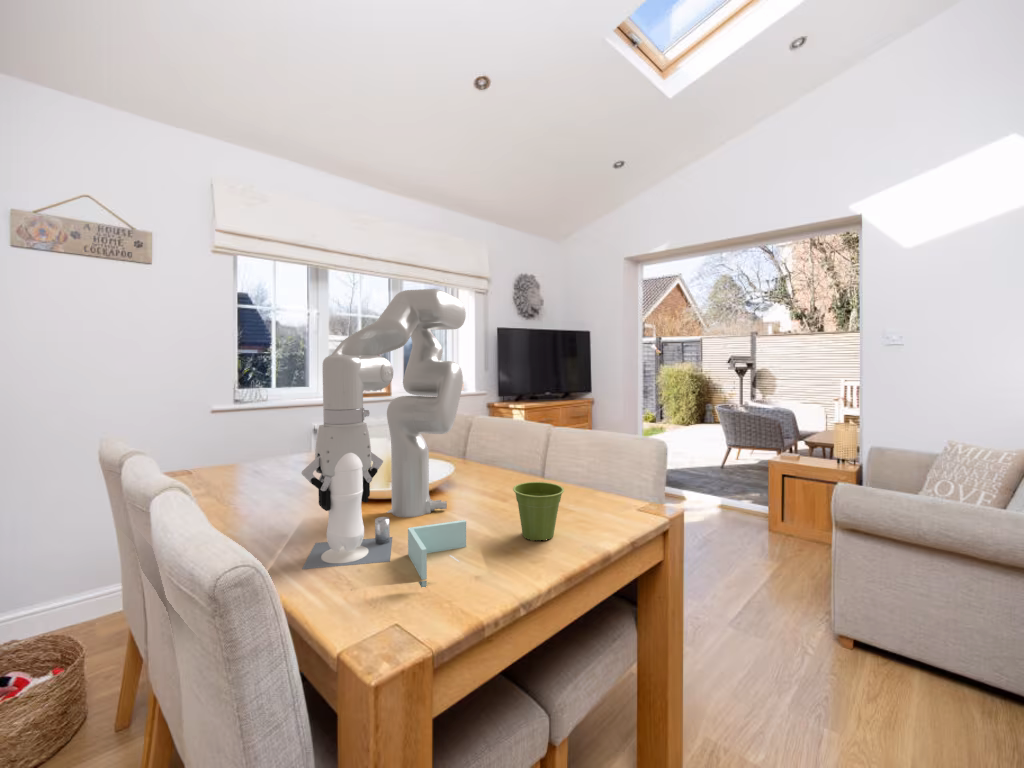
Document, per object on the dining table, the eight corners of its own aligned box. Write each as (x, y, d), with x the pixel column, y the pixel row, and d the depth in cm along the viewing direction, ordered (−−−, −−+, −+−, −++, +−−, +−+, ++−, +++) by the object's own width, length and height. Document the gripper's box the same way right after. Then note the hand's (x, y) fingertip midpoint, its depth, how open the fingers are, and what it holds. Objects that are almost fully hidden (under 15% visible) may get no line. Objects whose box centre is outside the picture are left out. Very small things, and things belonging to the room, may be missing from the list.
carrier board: (392, 543, 103) (392, 536, 103) (390, 568, 90) (390, 560, 90) (315, 549, 99) (315, 542, 99) (302, 576, 86) (301, 568, 86)
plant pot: (505, 541, 104) (505, 492, 104) (523, 524, 115) (523, 479, 115) (555, 549, 100) (556, 498, 99) (569, 531, 111) (569, 484, 110)
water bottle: (372, 545, 95) (370, 424, 93) (342, 557, 89) (340, 428, 87) (349, 537, 98) (347, 421, 97) (319, 549, 92) (316, 425, 91)
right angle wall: (421, 591, 82) (421, 549, 82) (408, 564, 93) (407, 527, 93) (484, 578, 87) (484, 539, 87) (464, 554, 98) (464, 519, 98)
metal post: (389, 538, 101) (389, 516, 101) (389, 543, 99) (389, 520, 98) (375, 539, 101) (375, 517, 101) (374, 545, 98) (374, 521, 98)
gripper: (375, 412, 101) (376, 492, 102) (291, 419, 89) (293, 509, 90) (392, 415, 95) (393, 500, 96) (304, 423, 84) (306, 519, 84)
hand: (345, 504), depth 93 cm, fingers closed on water bottle, 7 cm apart
